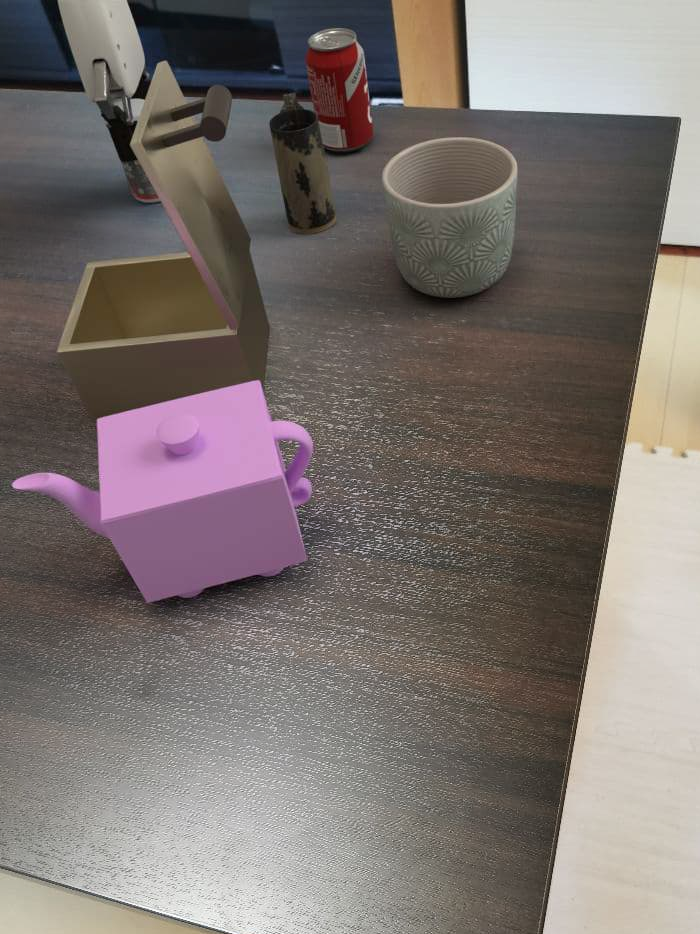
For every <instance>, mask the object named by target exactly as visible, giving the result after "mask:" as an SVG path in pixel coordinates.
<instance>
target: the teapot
mask: <svg viewBox="0 0 700 934" xmlns="http://www.w3.org/2000/svg"><path fill="white" fill-rule="evenodd" d="M96 433H97V436H96V437H97V459H98V484H99V485H98V487H99V492H97V491H95V490H92V489H89V488H88V487H86V486H83V485H82V484H80V483H79V482H77V481H76V480H73V479H72V478H69V477H67V476H66V475H65V476H64V475H62V474H58V473H53V472H36V473H31V474H26V475H24V476H21V477H19V478H17V479H16V480H14V481H13V482H12V484H11V486H12V488H13V489H15V490H19V491H25V492H26V491H27V492H34V493H42V494H44V495H47V496H49V497H52V498H54V499H55V500H57V501H59V502H60V503H62V505H64V506H65V507H67V509H69V510H70V512H72V514H73V515H75V516H76V517H77V518H78V519H79V521H81V522H82V523H83V524H84V525H85V526H86V527H87V528H89V529H90V530H91V531H93V532H95V534H98V535H99V536H102V537H104V538H106V539H109V540H110V542H111V543H112V545H113V547H114V549H115V551H116V552H117V554H118V555H119V558H120V559H121V560H122V562H123V564H124V566H125V567H126V569H127V571H128V573H129V574H130V576H131V578H132V579H133V581H134V583H135V584H136V586H137V588H138V589H139V592H140V593H141V595H142V597H143V598H144V600H145V602H146V604H149V603H152V602H153V603H154V602H156V601H160V600H164V599H168V598H172V597H175V596H178V597H181V598H185V599H187V598H193V597H196V596H199V594H201V593H202V592H203V591H204V590H205V589H206V588H210V587H213V586H218V585H222V584H225V583H229V582H232V581H236V580H240V579H244V578H245V579H246V578H249V577H252V576H256V575H259V576H262V577H265V578H267V577H273V576H276V575H278V574H279V573H281V572H282V571H283V570H284V569H285V568H286V567H290V566H294V565H298V564H300V563H304V562H308V556H307V553H306V548H305V545H304V541H303V535H302V532H301V528H300V523H299V520H298V515H297V511H296V507H299V506H302V505H304V504H306V503H307V502H309V500H310V499H311V497H312V493H313V486H312V483H311V482H310V480H309V479H308V478H306V477H305V476H303V475H304V473H305V472H306V470H307V468H308V467H309V464H310V463H311V460H312V457H313V453H314V444H313V439H312V437H311V435H310V434H309V432H308V430H306V429H305V428H304V427H303V426H302V425H300V424H298V423H297V422H293V421H289V420H280V419H279V420H272V417H271V414H270V411H269V406H268V404H267V400H266V397H265V393H264V389H262V386H261V383H260V381H259V380H256V381H252V382H247V383H243V384H238V385H234V386H230V387H226V388H221V389H217V390H213V391H209V392H204V393H200V394H196V395H192V396H188V397H183V398H179V399H175V400H171V401H167V402H163V403H159V404H155V405H150V406H146V407H142V408H138V409H134V410H130V411H126V412H122V413H118V414H114V415H110V416H106V417H102V418H99V419H97V429H96ZM279 441H291V442H296V443H298V444H299V446H298V449H297V452H296V454H295V456H294V457H293V459H292V461H291V463H290V464H289V465H288V466H287V469H286V465H285V461H284V459H283V455H282V452H281V448H280V444H279Z"/></svg>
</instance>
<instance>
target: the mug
mask: <svg viewBox="0 0 700 934" xmlns="http://www.w3.org/2000/svg"><path fill="white" fill-rule="evenodd" d="M282 97H283V105H282V107H281V109H280V111H279V113H278V114H275V115H274V116H273V117H271V118H270V120H269V123H268V124H269V125H268V126H269V130H270V136H271V141H272V147H273V152H274V159H275V162H276V163H275V164H276V168H277V174H278V179H279V183H280V188H281V189H280V190H281V195H282V200H283V205H284V210H285V215H286V221H287V226H288V228H289V229H290V230H291V231H292V232H295V233H298V234H303V235H304V234H305V235H310V234H317V233H322V232H324V231H326V230H329V228H331V227H333V225H335V224H336V222H337V220H338V219H337V217H338V215H337V211H336V205H335V201H334V200H335V199H334V196H333V190H332V186H331V180H330V175H329V169H328V163H327V159H326V158H327V157H326V153H325V148H324V147H323V142H322V137H321V132H320V127H319V121H318V116H317V114H316V113H315V112H314V110H312V109H311V110H310V109H307V108H304V107H303V106H302V105H301V103H299V102H298V99H297V94H296V92H295V91H294V92H291V93H283V94H282Z"/></svg>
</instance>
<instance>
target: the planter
mask: <svg viewBox="0 0 700 934" xmlns="http://www.w3.org/2000/svg"><path fill="white" fill-rule="evenodd" d="M518 168H519V167H518V163H517V160H516V157H514V155H513V154H512V153H511V152H510V151H509V150H507V148H505V147H503V146H502V145H499V144H497V143H495V142H492V141H490V140H485V139H481V138H475V137H468V136H467V137H466V136H464V137H463V136H458V137H457V136H454V137H442V138H441V137H440V138H435V139H430V140H426V141H422V142H419V143H416V144H414V145H412V146H409V147H407V148H405V149H403V150H401V151H399V152H398V153H397V154H395V155H394V156H393V157H392V158H391V159H390V160H389V161H388V162H387V163H386V165H385V166H384V168H383V170H382V174H381V182H382V183H381V184H382V190H383V197H384V204H385V209H386V217H387V222H388V230H389V234H390V240H391V241H390V242H391V246H392V250H393V254H394V257H395V263H396V265H397V268H398V270H399V272H400V275H401V276H402V277H403V279H404V280H405V281H406V282H407V284H408V285H409V286H411V287H412V288H414V289H415V290H416V291H418V292H421V293H423V294H425V295H428V296H431V297H435V298H443V299H457V298H465V297H469V296H474V295H476V294H479V293H481V292H483V291H485V290H487V289H489V288H490V287H492V286H493V285H495V284H496V283H497V282H498V281H500V279H501V278H502V277H503V275H504V274H505V273H506V270H507V269H508V266H509V264H510V261H511V258H512V252H513V245H514V238H515V229H516V210H517V192H518V191H517V190H518V171H519V170H518Z"/></svg>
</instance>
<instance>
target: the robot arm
mask: <svg viewBox="0 0 700 934" xmlns="http://www.w3.org/2000/svg"><path fill="white" fill-rule="evenodd" d="M57 4H58V9H59V13H60V16H61V21H62V24H63V27H64V30H65V34H66V38H67V41H68V44H69V47H70V50H71V53H72V56H73V59H74V62H75V65H76V68H77V72H78V74H79V76H80V79H81V82H82V85H83V88H84V91H85V93H86V96H87V98H88V100H89V101H90V102H92V103H95V104H96V105H97V107H98V109H99V110H100V116H101V117H102V118H103V121H104V124H105V126H106V128H107V130H108V133H109V135H110V138H111V140H112V143H113V145H114V148H115V150H116V153H117V156H118V159H119V160H121V161H122V162H128V161H136V160H138V159H137V157H136V155H135V154H134V152H133V150H132V148H131V146H130V143H131V140H132V137H133V134H134V131H135V128H136V125H137V122H138V121H137V120H136V121H133V114H132V108H131V102H130V99H143V100H145V99H146V96H147V93H148V90H149V87H150V84H151V81H152V79H150V75H149V71H148V68H147V66H146V59H145V58H146V57H145V53H144V48H143V45H142V41H141V38H140V35H139V32H138V29H137V26H136V23H135V20H134V18H133V14H132V12H131V9H130V6H129V3H128V0H57ZM114 90H121V91H114ZM111 91H113V92H111ZM121 101H122V103H123V110H124V111H123V110H122V109H121V108H120V107H119V106H118V105H116V106H114V105H115V103H119V102H121ZM121 161H120V162H121Z"/></svg>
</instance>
